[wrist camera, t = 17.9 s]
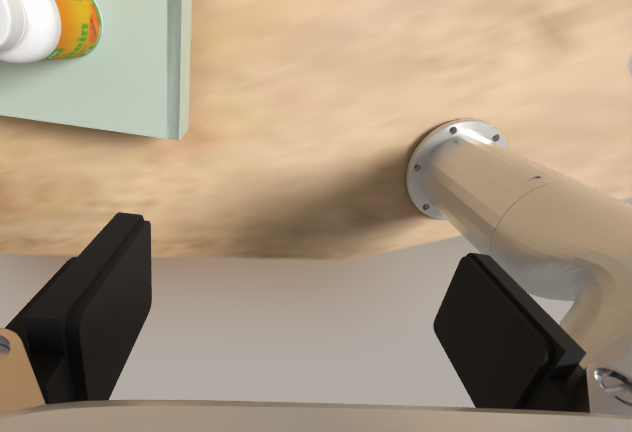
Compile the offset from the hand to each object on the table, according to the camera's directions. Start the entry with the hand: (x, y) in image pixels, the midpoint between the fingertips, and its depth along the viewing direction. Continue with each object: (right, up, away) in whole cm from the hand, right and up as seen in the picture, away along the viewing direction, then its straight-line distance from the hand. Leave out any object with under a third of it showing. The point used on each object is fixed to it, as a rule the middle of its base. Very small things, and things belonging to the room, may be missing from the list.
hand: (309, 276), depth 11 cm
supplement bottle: (-18, +16, +15) cm, 28 cm away
